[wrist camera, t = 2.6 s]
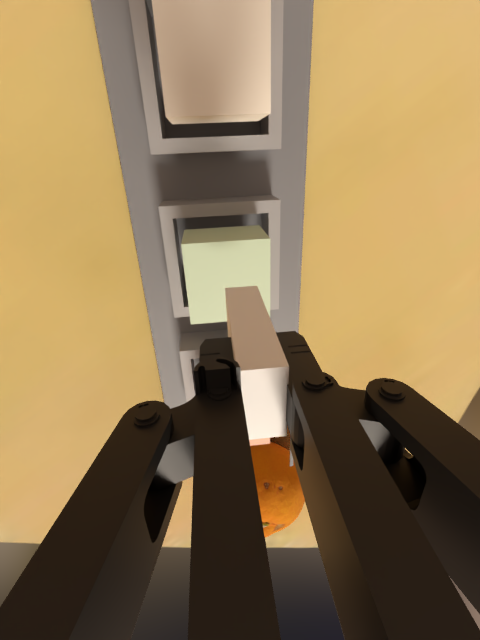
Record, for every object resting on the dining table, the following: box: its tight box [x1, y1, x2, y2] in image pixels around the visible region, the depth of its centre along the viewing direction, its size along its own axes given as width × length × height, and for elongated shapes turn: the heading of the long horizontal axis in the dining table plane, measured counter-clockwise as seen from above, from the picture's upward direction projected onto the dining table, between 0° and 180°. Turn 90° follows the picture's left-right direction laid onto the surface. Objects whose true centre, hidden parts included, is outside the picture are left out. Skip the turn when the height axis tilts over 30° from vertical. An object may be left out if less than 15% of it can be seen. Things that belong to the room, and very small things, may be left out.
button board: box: [91, 0, 314, 409], centre depth 25 cm, size 13×33×4 cm, turn 2°
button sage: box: [181, 225, 270, 324], centre depth 21 cm, size 5×5×4 cm
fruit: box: [250, 442, 305, 537], centre depth 35 cm, size 10×10×8 cm
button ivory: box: [152, 0, 271, 124], centre depth 16 cm, size 5×5×4 cm
